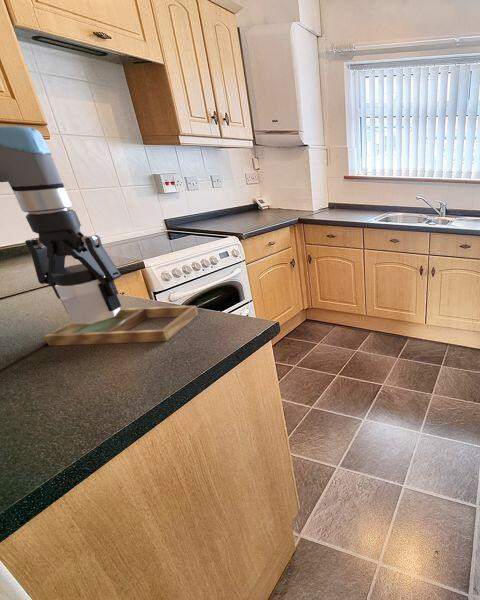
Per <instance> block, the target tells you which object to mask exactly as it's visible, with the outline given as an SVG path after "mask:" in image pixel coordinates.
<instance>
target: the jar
mask: <svg viewBox="0 0 480 600" xmlns="http://www.w3.org/2000/svg"><path fill="white" fill-rule="evenodd" d="M52 276H53V279H54V281H55V282H56V284H57V285H55V288H56V290H57V292H58V294H59V296H60V298H61V299H60V301H61V300H62V301H61V303H62V302H63V303H62V305H63V304H64V305H63V307H64V306H65V307H64V309H65V308H66V309H65V311H66V310H67V311H66V313H67V312H68V313H67V315H68V317H69V319H70V321H72V322H73V324H94V323H97V322H101V321H104V320H107V319H110V318H113V317H115V316H116V315H117V313H118V312H119V311H120V309H121V307H119V308H117V309H115V310H114V311H109V309H108V307H107V305H106V302H105V300H104V298H103V295H102V293H101V291H100V289H99V286H98V285H99V283H101V282H100V281H99V280H98V279H97V278H96V277H95V276H94V275H93V274H92V273H91V272H90V270H88V269H87V268H86V267H85V266H84V265H83V264H82V263H79V264H73V265H69V266H64V268H62V269H59V270H56V271H54V272H52ZM104 277H105V276H104Z"/></svg>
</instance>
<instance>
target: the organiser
mask: <svg viewBox="0 0 480 600" xmlns="http://www.w3.org/2000/svg"><path fill="white" fill-rule="evenodd" d="M197 316H199V311H198V308H197V305H175V306H173V305H172V306H150V307H148V306H147V307H124V308H121V307H120V311H119V312H118V313H117V315H116V316H115V317H113V318H110V319H107V320H104V321H101V322H97V323H94V324H73V322H72V320H70V322H68V323H65V324H64V325H62V326H60V327H58V328H57V329H55V330H53V331H51V332H49V333H47V334H46V335H44V336H43V338H44V339H45V341H46V343H47V345H48V346H49V347H54V346H58V347H59V346H79V345H80V346H81V345H105V344H106V345H107V344H131V343H155V342H157V343H158V342H167V341H169V340H170V339H171V338H173V337H174V336H175V335H176V334H177V333H178V332H179V331H181V330H182V329H183V328H184V327H185V326H187V325H188V324H189V323H190V322H191V321H193V320H194V319H195V318H196V317H197ZM175 317H176V318H175ZM151 318H174V319H173V320H172V321H170V322H169V323H168V324H166V325H165V326H164V327H162V329H142V330H132V329H134V328H135V327H136V326H138V325H139V324H141V323H143V322H144V321H145V320H146V319H151Z"/></svg>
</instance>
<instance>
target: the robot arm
mask: <svg viewBox="0 0 480 600" xmlns="http://www.w3.org/2000/svg"><path fill="white" fill-rule="evenodd" d="M0 183H8V184H9V186H10V188H11V190H12V191H13V194H14V196H15V198H16V201H17V203H18V205H19V207H20V209H21V212H24V213H27V214H26V216H25V219H26V221H27V224H28V225H29V227H30V229H31V231H32V232H33V233H35V234H38V237H34V238H31V239H27V240H25V241H24V243H25V245H26V247H27V248H28V249H29V251H30V255H31V258H32V262H33V266H34V269H35V273H36V277H37V281H38V283H39V284H41V285H44V284H46V285H48V286H49V287H51V288H52V290H53V292H54V294H55V296H56V297H57V299H59V300H60V301H61V304H62V305H63V308H64V309H65V311H66V313H67V314H68V312H67V310H66V308H65V306H64V304H63V302H62V300H61V298H60V296H59V294H58V292H57V290H56V288H55V285H57V284H56V282H55V281H54V279H53V276H52V272H54V271H56V270H59V269H62V268H64V267H66V266H65V265H66V257H70V256H71V257H72V258H73V259H74V260H78V261H79V262H80V264H83V265H84V266H85V267H86V268H87V269H88V270H90V272H91V273H92V274H93V275H94V276H95V277H96V278H97V279H98V280H99V281H100V282H101V283H99V285H98V286H99V289H100V291H101V293H102V295H103V298H104V300H105V302H106V305H107V307H108V309H109V311H114V310H115V309H117V308H119V307H120V308H121V307H122V304H121V302H120V300H119V297H118V294H119V291H118V288H117V286H116V284H115V280H117V279H119V278H121V277H122V274H121V272H120V271H119V269H118V268H117V266H116V265H115V263H114V261H113V260H112V259H111V257H110V255H109V254H108V252H107V251H106V249H105V248H104V246H103V243H102V240H101V237H100V236H99V235H97V234H95V235H85V234H84V233H82V231H81V226H82V225H81V221H80V219H79V217H78V214H77V212H76V211H75V210H74V209H71V208H72V207H73V203H72V201H71V199H70V197H69V194H68V192H67V189H66V187H65V185H64V183H63V181H62V178H61V176H60V173H59V171H58V168H57V165H56V164H55V161H54V159H53V156H52V151H50V149H49V147H48V145H47V143H46V141H45V139H44V137H43V135H42V133H41V132H40V131H39V130H38V129H36V128H34V127H29V126H18V125H17V126H15V125H14V126H13V125H12V126H11V125H0ZM104 276H105V277H104Z"/></svg>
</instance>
